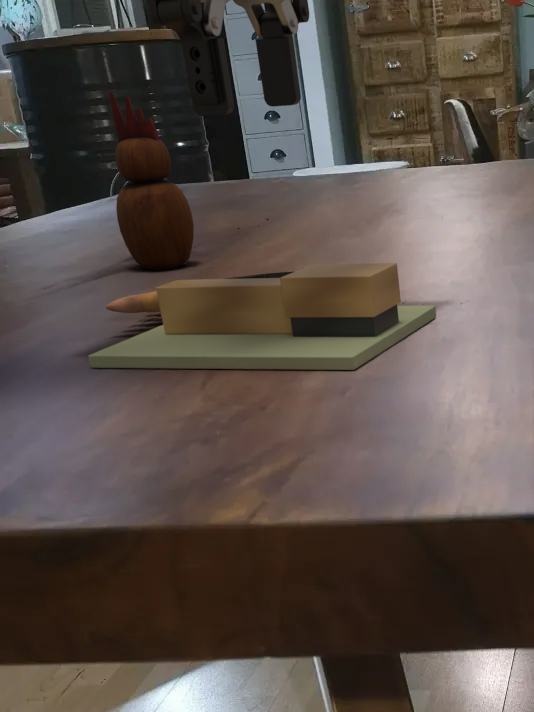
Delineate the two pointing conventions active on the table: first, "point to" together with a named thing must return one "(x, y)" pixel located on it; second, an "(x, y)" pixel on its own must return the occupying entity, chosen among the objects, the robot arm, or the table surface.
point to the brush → (287, 303)
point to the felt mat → (257, 348)
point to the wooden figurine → (149, 195)
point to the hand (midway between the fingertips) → (251, 110)
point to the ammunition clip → (150, 299)
